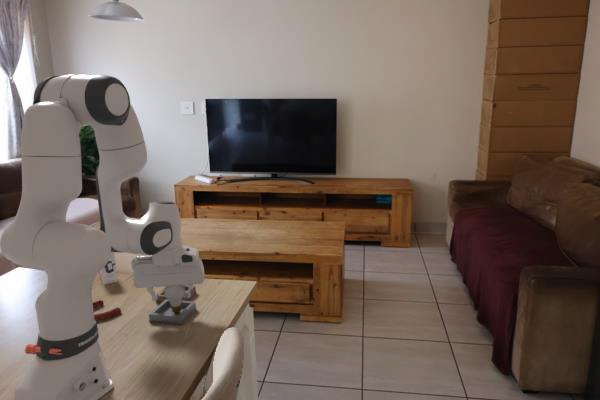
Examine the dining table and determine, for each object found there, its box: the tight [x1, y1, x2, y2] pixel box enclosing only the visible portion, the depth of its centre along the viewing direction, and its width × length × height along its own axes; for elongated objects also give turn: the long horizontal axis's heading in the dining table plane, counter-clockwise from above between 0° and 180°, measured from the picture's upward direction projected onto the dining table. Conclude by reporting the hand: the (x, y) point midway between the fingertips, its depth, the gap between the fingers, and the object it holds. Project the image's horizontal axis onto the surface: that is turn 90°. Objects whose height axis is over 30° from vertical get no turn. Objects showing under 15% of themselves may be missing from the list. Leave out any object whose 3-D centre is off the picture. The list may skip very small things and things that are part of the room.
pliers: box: [92, 299, 122, 323], centre depth 135 cm, size 12×20×3 cm, turn 145°
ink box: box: [98, 252, 118, 285], centre depth 164 cm, size 8×5×12 cm, turn 32°
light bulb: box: [164, 285, 185, 313], centre depth 136 cm, size 6×6×10 cm
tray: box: [148, 299, 197, 326], centre depth 137 cm, size 10×10×2 cm
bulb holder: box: [155, 285, 197, 304], centre depth 149 cm, size 9×9×2 cm
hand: (171, 298), depth 136 cm, fingers open, 8 cm apart
